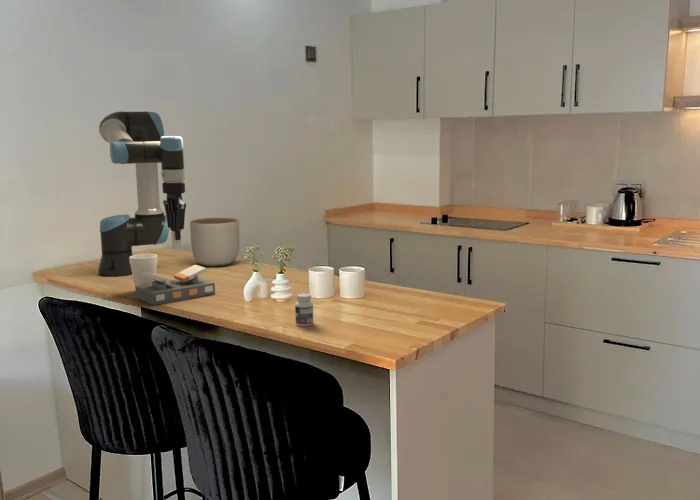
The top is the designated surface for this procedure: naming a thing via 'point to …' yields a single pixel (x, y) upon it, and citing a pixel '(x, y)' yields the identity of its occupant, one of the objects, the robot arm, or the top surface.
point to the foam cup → (143, 267)
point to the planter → (215, 240)
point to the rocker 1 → (159, 278)
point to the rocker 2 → (190, 273)
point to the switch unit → (174, 291)
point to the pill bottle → (304, 310)
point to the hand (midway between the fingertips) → (176, 248)
